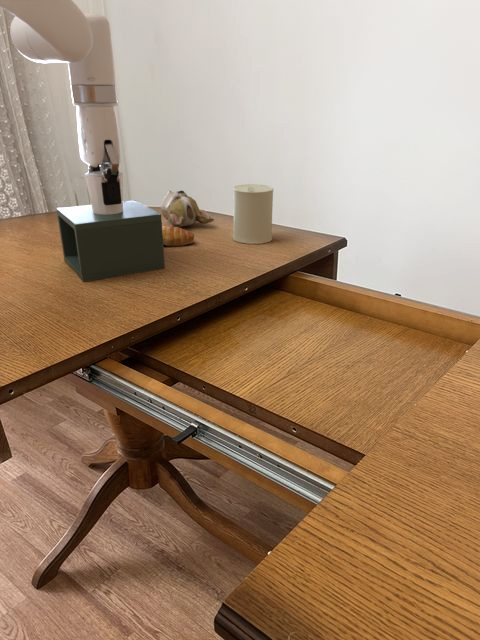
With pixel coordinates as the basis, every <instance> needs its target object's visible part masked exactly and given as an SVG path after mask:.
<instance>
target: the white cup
mask: <svg viewBox="0 0 480 640" xmlns="http://www.w3.org/2000/svg"><path fill="white" fill-rule="evenodd" d="M105 171H106V173H107V170H105ZM84 177H85V182H86V187H87V191H88V197H89V201H90V205H91V206H92V211H93V213H95V214H103V215H108V214H117V213H121V212H122V211H123V202H124V173H123V172H121V171H119V178H120V191H121V201H122V202H121V204H115V205H105V204H104V202H103V193H102V185H101V182H103V179H102V175H101V171H93V172H89V171H87V172H85V173H84Z"/></svg>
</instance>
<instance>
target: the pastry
mask: <svg viewBox="0 0 480 640" xmlns="http://www.w3.org/2000/svg"><path fill="white" fill-rule="evenodd" d="M162 234H163V246H164V245H165V246H168V247H171V246H174V247H177V246H178V247H180V246H182V247H183V246H185V245H189V244H190V245H191V244H193V243H194V241H195V233H193V232H191V231H190V230H186V229H184V228H182V227H179V228H178V227H174V226H172V225H162Z"/></svg>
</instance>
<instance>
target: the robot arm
mask: <svg viewBox="0 0 480 640" xmlns="http://www.w3.org/2000/svg"><path fill="white" fill-rule="evenodd" d="M0 8H1V9H2V10H5V11H6V12H8V13H10V14H11V15H13V16H14V17H13V19H12V21H11V23H10V28H9V29H10V30H9V33H10V39H11V42H12V44H13V47H14V48H15V49H16V50H17V51H18V53H20V54H21V55H22V56H23V57H25V59H28V60H30V61H32V62H35V63H41V64H55V63H61V64H62V63H65V64H66V63H67V68H68V75H69V82H70V83H69V84H70V90H71V99H72V104H73V105H72V106H73V107H76V122H77V123H76V124H77V135H78V136H77V138H78V147H79V148H78V149H79V157H80V160H81V161H82V162H83V163H85V164H87V165H88V172H93V171H101V175H102V179H103V182H101V185H102V193H103V202H104V204H105V205H115V204H121V202H122V201H121V191H120V178H119V172H120V169H119V167H120V164H121V148H120V140H119V132H118V125H117V118H116V113H115V107H117V106H118V94H117V83H116V73H115V61H114V53H113V43H112V42H113V41H112V33H111V32H112V31H111V24H110V21H109V19H108V18H107V17H106V16H105V15H103V14H99V13H94V12H83V11H82V10H81V9H80V8H79V6H78V5H77V3H75V2H74V0H0ZM106 171H107V173H106Z"/></svg>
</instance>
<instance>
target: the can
mask: <svg viewBox="0 0 480 640" xmlns="http://www.w3.org/2000/svg"><path fill="white" fill-rule="evenodd" d="M232 194H233V195H232V196H233V199H232V202H233V231H232V233H233V234H232V240H233V241H234V242H236V243H239V244H245V245H262V244H267V243H270V242H272V241H273V200H274V187H272V186H270V185H264V184H252V183H251V184H249V183H248V184H239V185H235V186H233V187H232Z"/></svg>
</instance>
